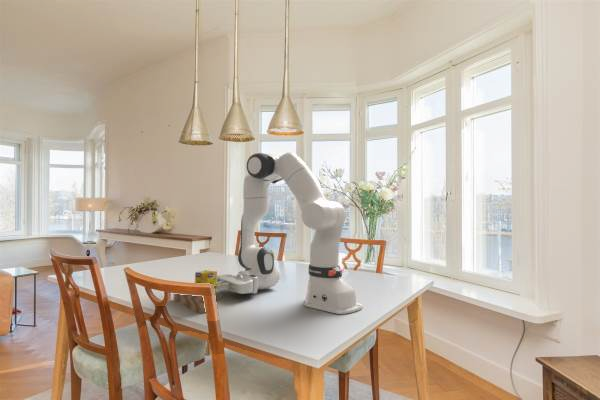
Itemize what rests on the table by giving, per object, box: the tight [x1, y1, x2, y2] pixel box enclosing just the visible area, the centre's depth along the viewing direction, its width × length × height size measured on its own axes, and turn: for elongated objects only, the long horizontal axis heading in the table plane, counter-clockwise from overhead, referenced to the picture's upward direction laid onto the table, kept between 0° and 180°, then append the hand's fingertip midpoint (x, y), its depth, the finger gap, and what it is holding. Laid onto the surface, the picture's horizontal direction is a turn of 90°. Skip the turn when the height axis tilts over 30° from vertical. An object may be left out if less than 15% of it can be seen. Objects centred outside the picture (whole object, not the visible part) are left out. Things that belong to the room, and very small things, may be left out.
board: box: [173, 293, 206, 315], centre depth 125 cm, size 22×3×6 cm, turn 42°
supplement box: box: [194, 269, 218, 296], centre depth 132 cm, size 6×6×11 cm
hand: (215, 286), depth 134 cm, fingers closed
